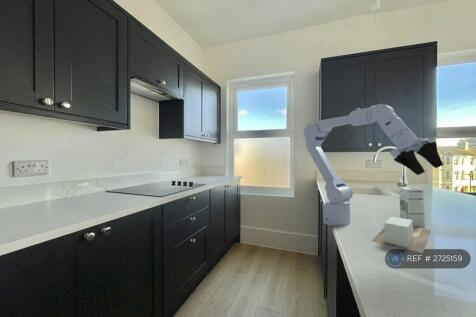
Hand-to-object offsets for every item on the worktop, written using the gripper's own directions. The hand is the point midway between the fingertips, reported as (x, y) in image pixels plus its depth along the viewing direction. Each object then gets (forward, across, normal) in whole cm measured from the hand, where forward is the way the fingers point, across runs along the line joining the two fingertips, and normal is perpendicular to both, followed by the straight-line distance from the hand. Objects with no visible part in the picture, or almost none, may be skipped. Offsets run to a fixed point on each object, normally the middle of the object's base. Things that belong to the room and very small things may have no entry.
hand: (430, 170), depth 61 cm
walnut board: (+16, -6, +18) cm, 24 cm away
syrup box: (+15, +10, +28) cm, 33 cm away
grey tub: (+15, -11, +14) cm, 24 cm away
